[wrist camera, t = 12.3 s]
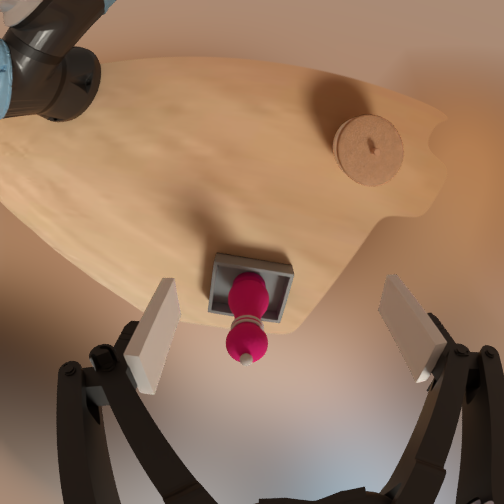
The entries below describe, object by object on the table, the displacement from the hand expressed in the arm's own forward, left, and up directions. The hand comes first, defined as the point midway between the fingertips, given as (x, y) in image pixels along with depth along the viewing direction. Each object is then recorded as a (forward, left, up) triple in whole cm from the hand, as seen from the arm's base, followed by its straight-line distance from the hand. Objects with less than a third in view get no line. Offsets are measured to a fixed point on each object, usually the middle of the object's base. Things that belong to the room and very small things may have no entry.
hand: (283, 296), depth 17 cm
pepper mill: (+14, -12, -32) cm, 37 cm away
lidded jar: (+2, +17, -33) cm, 37 cm away
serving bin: (+15, -12, -32) cm, 38 cm away
